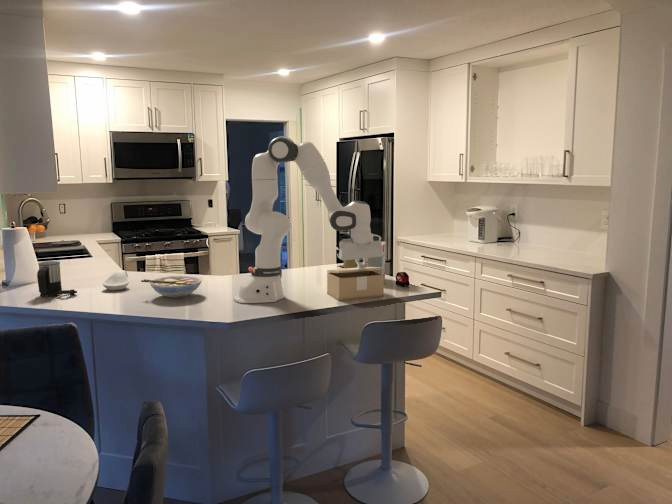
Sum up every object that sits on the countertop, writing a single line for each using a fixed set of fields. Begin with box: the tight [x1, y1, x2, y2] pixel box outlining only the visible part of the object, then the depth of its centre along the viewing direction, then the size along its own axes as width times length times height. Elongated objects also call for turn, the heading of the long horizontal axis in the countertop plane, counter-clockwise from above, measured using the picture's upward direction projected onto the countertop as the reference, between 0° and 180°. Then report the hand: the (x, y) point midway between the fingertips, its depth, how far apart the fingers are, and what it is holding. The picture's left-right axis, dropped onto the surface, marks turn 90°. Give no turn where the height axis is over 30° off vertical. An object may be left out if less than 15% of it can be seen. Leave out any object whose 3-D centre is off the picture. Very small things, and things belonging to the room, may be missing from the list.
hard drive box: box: [366, 240, 387, 280], centre depth 279 cm, size 16×8×20 cm, turn 168°
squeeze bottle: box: [342, 259, 358, 269], centre depth 304 cm, size 8×8×18 cm
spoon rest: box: [102, 269, 130, 292], centre depth 267 cm, size 24×12×7 cm, turn 10°
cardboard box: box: [326, 270, 385, 302], centre depth 251 cm, size 22×14×10 cm, turn 112°
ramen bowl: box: [140, 274, 203, 299], centre depth 248 cm, size 25×23×8 cm
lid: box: [326, 266, 384, 273], centre depth 250 cm, size 22×14×1 cm, turn 112°
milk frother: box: [36, 260, 78, 297], centre depth 249 cm, size 14×16×15 cm
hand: (361, 268), depth 245 cm, fingers closed
